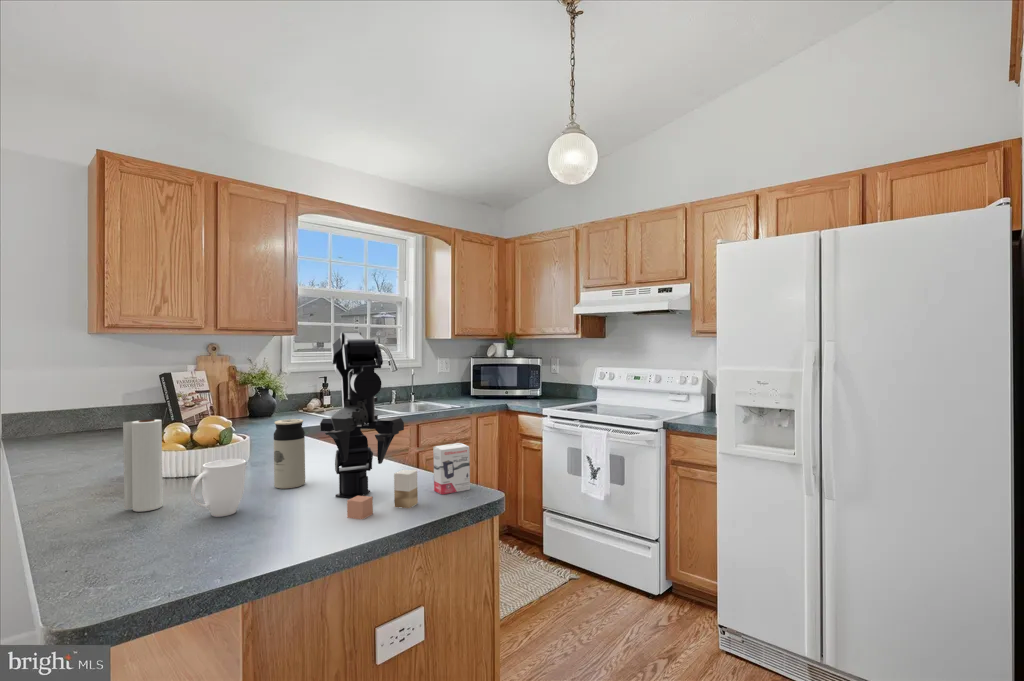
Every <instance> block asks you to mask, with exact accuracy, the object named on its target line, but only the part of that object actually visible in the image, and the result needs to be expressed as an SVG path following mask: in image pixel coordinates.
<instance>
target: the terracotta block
mask: <svg viewBox="0 0 1024 681" xmlns="http://www.w3.org/2000/svg"><path fill="white" fill-rule="evenodd" d="M373 499H374V498H373V496H370V495H369V496H367V495H363V496H356V497H353V498H349V499H347V500H346V502H347V503H346V512H347V514H346V515H347V516H346V518H347V519H353V520H354V519H355V520H365V519H366V518H368V517H370V516H372V515H373V514H374V504H373V503H374V502H373Z"/></svg>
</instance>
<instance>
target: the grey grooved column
mask: <svg viewBox="0 0 1024 681" xmlns="http://www.w3.org/2000/svg"><path fill="white" fill-rule="evenodd" d="M162 422H163V421H162V419H152V418H151V419H141V420H133V421H123V422H122V423H123V424H122V426H123V427H122V431H123V432H122V435H123V436H122V439H123V442H122V443H123V446H122V448H123V506H124V507H123V509H124V510H129V509H132V511H134V512H137V513H138V512H149V511H153V510H157V509H160V508H162V507H163V505H164V504H163V499H164V498H163V497H164V496H163V438H162V437H163V436H162V432H163V431H162V426H163V425H162V424H163V423H162Z"/></svg>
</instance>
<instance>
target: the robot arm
mask: <svg viewBox="0 0 1024 681" xmlns="http://www.w3.org/2000/svg"><path fill="white" fill-rule="evenodd" d="M383 362H384V360H383V354H382V349H381V348H380V346H379V343H376V340H375V338H364V336H362V331H359V330H357V331H356V330H352V331H350V330H349V331H348V330H347V331H345V330H344V331H343V332H340V335H339V338H338V339H337V340H336V341H334V342H333V343H332V346H331V364H332V365H334V372H335V374H336V375H337V377H338V378H339V379H340V381H341V384H340V385H341V400H342V401H341V402H342V408H340V409H339V410H337V412H336V413H334V414H333V415H332V416H329V417H323V418H322V419H321V421H320V423H319V431H320V432H324V435H326V436H329V437H330V438H331V439H332V440H333V441H334V443H335V445H336V447H337V449H336V450H335V458H334V459H335V460H334V467H335V468H334V470H335V473H336V475H338V481H339V482H338V483H339V484H338V486H339V487H338V488H339V490H338V493H335V498H345V499H346V498H347V499H348V498H349V499H351V498H353V497H356V496H366V495H367V494H369V493H371V489H369V477H368V476H367V471H368V472H370V471H371V470H373V458H374V452H373V451H372V449H371V447H370V446H369V443H368V442H369V440H368V437H367V435H365V434H364V433H363V431H362V429H365V430H367V429H368V430H375V431H376V432H377V433H376V434H374V437H375V439H376V441H377V455H376V456H377V458H376V459H377V464H379V465H381V464H382V463H383V462H384V458H385V456H386V454H387V452H388V450H389V447H390V445H391V444H392V442H393V440H394V438H395V436H397V435H398V434H399V433H400V432H402V431H404V430H405V422H404V420H403V419H402V417H385V418H382V419H381V418H380V419H378V418H379V417H378V416H379V415H378V414H375V413H376V412H375V403H377V402H378V397H377V394H379V392H380V391H381V388H382V380H381V377H380V376H379V374H377V373H376V372H375V369H376V370H377V369H382V366H383V364H384V363H383Z"/></svg>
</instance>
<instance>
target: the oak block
mask: <svg viewBox="0 0 1024 681" xmlns="http://www.w3.org/2000/svg"><path fill="white" fill-rule="evenodd" d="M418 492H419V491H418V487H417V488H415V489H413V490H411V491H409V492H408V491H397V490H394V491H393V493H394V494H393V497H394V508H399V507H402V508H403V509H411V508H413V507H414V506H415V505H418V504H417V503H419V502H418V501H419V499H418V498H419V497H418ZM412 506H413V507H412Z"/></svg>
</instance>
